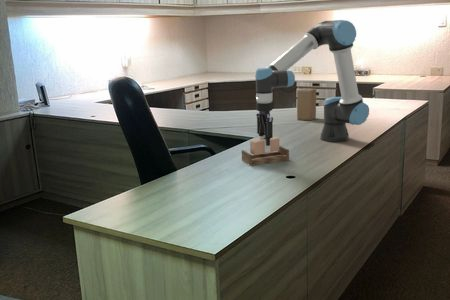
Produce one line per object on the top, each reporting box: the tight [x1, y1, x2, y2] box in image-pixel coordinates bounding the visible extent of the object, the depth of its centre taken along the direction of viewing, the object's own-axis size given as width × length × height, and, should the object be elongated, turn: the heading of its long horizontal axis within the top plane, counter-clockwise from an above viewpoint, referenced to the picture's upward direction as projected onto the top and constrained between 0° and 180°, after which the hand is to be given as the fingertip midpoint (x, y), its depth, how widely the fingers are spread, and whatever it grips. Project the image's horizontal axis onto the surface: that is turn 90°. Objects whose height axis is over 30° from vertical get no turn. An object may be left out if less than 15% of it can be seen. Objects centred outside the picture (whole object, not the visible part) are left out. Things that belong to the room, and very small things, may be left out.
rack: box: [241, 144, 290, 166], centre depth 231 cm, size 20×10×5 cm, turn 110°
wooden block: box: [296, 87, 317, 121], centre depth 324 cm, size 10×10×20 cm
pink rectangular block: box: [249, 136, 280, 155], centre depth 230 cm, size 14×4×6 cm, turn 120°
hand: (264, 150), depth 231 cm, fingers closed on pink rectangular block, 5 cm apart
